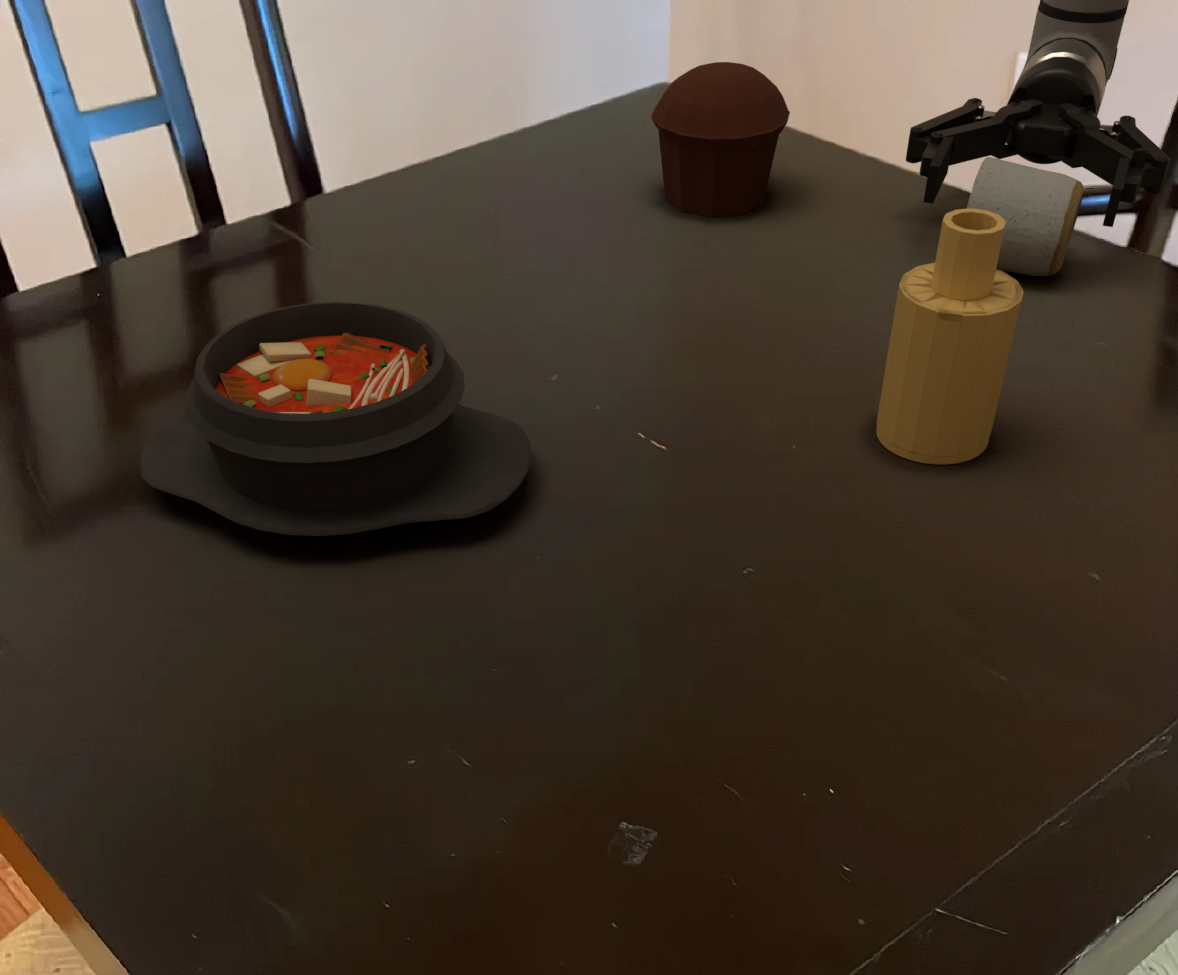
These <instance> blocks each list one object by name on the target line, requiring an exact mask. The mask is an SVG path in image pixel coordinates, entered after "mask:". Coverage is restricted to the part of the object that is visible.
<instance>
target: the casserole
mask: <svg viewBox="0 0 1178 975" xmlns="http://www.w3.org/2000/svg"><path fill="white" fill-rule="evenodd" d="M464 375H465V374H464V372H463V370H462V369H461V367H460V364H459V363H458V361H457V360H456V359H455V358H454V357H453V356H452V355H451V354H450V353H449V352H448V350H447V348H446V346H445V344H444V342H443V340H442V338H441V336H440V334H439V333H438V332H437V331H436V330H435V329H434V328H433V327H432V326H431V325H430V324H429V323H427V322H425V321H424V320H422V319H421V318H419V317H417V316H415V315H413V314H410V313H407V312H404V311H402V310H399V309H396V308H392V307H388V306H383V305H379V304H373V303H364V302H355V301H354V302H352V301H324V302H310V303H302V304H297V305H295V304H294V305H289V306H285V307H280V308H277V309H272V310H269V311H268V310H267V311H265V312H262V313H259V314H256V315H253V316H250V317H248V318H244V319H243V320H241V321H239V322H237V323H234V324H232V325H231V326H229V327H227V328H225V329H224V330H222V331H221V332H219V333H218V334H217V335H215V336H214V337H213V338H212V339H211V340H210V341H208V343H207V344H205V346H204V347H203V348H202V349H201V351H200V353H199V354H198V356H197V358H196V361H195V367H194V372H193V378H192V381H191V382H190V383H189V386H188V388H187V389H186V391H185V392H186V393H185V399H184V403H183V407H181V408H180V409H178V410H177V411H176V412H174V413H173V414H172V415H170V416H168V417H167V418H166V419H165V420H164V421H163V422H162V423H161V424H160V425H159V426H158V427H157V428H156V429H155V430H154V431H153V432H152V433H151V435H150V436H149V437H148V438H147V440H146V443H145V444H144V446H143V447H142V450H141V453H140V457H139V462H138V467H139V473H140V477H141V478H142V479H143V480H144V482H146V484H148V485H149V486H150V487H151V488H154V489H156V490H159V491H162V492H164V493H167V494H170V495H173V496H177V497H180V498H183V499H186V500H189V501H192V502H196V503H197V504H199V505H201V506H203V507H205V508H207V509H208V510H210V511H212V512H214V513H216V514H218V515H220V516H221V517H223V518H225V519H226V520H230V521H231V522H233V523H236V524H239V525H242V526H245V527H248V528H251V529H255V530H257V531H262V532H269V533H275V534H280V535H286V536H287V535H288V536H301V537H302V536H303V537H328V536H343V535H345V536H346V535H352V534H357V533H364V532H369V531H374V530H379V529H384V528H388V527H395V526H399V525H405V524H410V523H423V522H436V521H450V520H463V519H469V518H471V517H475V516H478V515H482V514H485V513H487V512H489V511H491V510H493V509H494V508H495V507H497V506H499V505H500V504H501V503H503V502H505V501H506V500H507V499H508V498H510V496H511V495H512V494H513V493H514V492H515V491H516V490H517V489H519V487H520V485H521V484H522V482H523V481H524V478H526V475H527V473H528V472H529V470H530V465H531V459H532V448H531V441H530V439H529V437H528V435H527V434H526V432H525V431H524V428H522V427H521V426H520V425H519V424H518V423H516V422H514V421H513V420H511V419H509V418H508V417H504V416H501V415H497V414H494V413H490V412H485V411H481V410H478V409H474V408H471V407H466V406H464V405H462V404H460V402H461V401H462V398H463V396H464V391H465V388H466V384H465V376H464Z"/></svg>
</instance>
